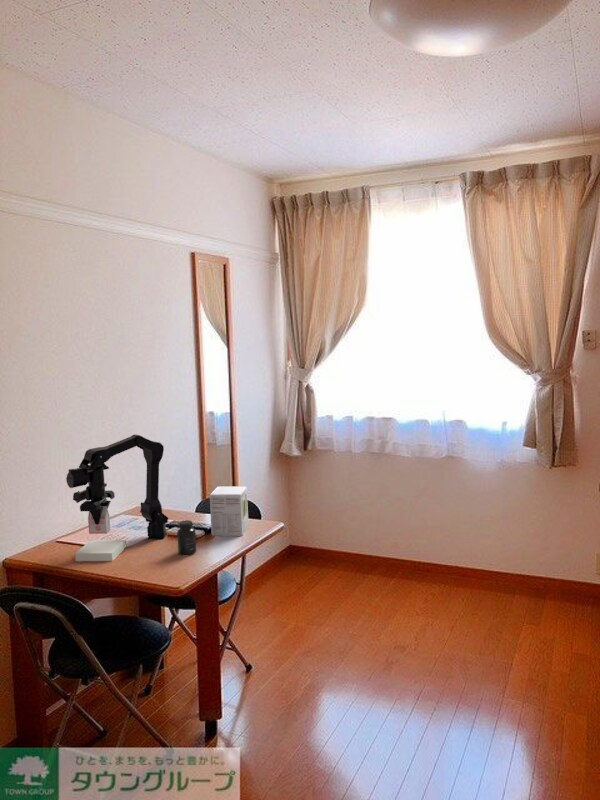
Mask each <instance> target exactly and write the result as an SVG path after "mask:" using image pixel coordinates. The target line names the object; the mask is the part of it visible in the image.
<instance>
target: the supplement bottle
mask: <svg viewBox="0 0 600 800" xmlns="http://www.w3.org/2000/svg"><path fill="white" fill-rule="evenodd" d="M178 524H179V525H178V526H179V529H178V530H177V531H176V536H177V537H176V538H177V553H178V555H180V556H183V555H188V556H192V555H194V554H195V553H196V552H197V539H196V537H197V536H196V530H195V528H194V527H193V525H194V524H193V521H192V520H189V519H188V520H181V521H180V522H178Z"/></svg>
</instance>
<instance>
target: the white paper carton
mask: <svg viewBox="0 0 600 800" xmlns="http://www.w3.org/2000/svg"><path fill="white" fill-rule="evenodd" d="M100 507H103V510H102V514H101V518H100V522H99V524H98V525H96V524H95V521H94V519H93V517H92V515H91V513H90V512H89V511H88V515H87V516H88V517H87V520H88V523H87V524H88V534H90V535H92V534H104V535H105V534H108V533H109V532H110V531H111V520H110V518H111V517H110V513H109V510H108V509H109V508H108V509H107V506H100Z"/></svg>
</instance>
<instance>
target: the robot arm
mask: <svg viewBox="0 0 600 800" xmlns="http://www.w3.org/2000/svg"><path fill="white" fill-rule="evenodd" d="M132 448H139V449H140V450H142V454H143V458H144V460H145V462H146V479H145V480H146V482H145V484H146V486H145V488H146V490H145V492H146V493H145V499H144V501H143V502H140V511H139V513H141V516H142V518H144V520H145V521H146V522H148V523H147V527H146V529H147V531H146V533H147V540H164V539H165V538H166V536H167V535H168V532H167V528H166V524H167V523H168V521H169V517H168V516H167V515H165V514H164V513H163V507H162V503H161V502H160V499H159V487H160V486H159V485H160V484H159V482H160V481H159V480H160V477H159V476H160V463H161V462H162V459H163V456H164V450H165V449H164V445H163V444H162V443H161V442H160V441H159V442H158V441H153V440H151V439H148V438H146V437H144V436H142V435H140V434H133V435H131V436H129V437H125V438H124V439H120V440H118V441H116V442H114V443H110V444H109V445H106V446H100V447H99V446H98V447H94V448H90V449H89V448H88V449H87V450H86V451H85V453H84V457H83V459H82V460H81V462H80V464H79V465H78V467H77V468H69V469H68V470H67V471H68V473H66V477H65V480H66V484H67V486H68V488H70V489H73V488H78V487H83V486H86V488H85V489H84V490H81V491H79V490H78V491H77V492H74V493H72V494H73V495H72V501H75V502H76V504H79V503H80V502H81V504H80V505H79V511H80V512H88V513H89V512H90V513H91V515H92V517H93V519H94V521H95V524H96V525H98V524H99V522H100V518H101V514H102V510H103V507H100V506H107V509H109V507H110V504H111V502H112V501H111V500H113V499H114V498H115V496H116V495H115V492H114V491H113V490H106V487H107V485H108V484H107V483H105V473H104V472H105V471H106V470H109V469H110V467H109V466H107V465H106V462H108V461H109V460H110V459H111V458H113V456H116V455H119V454H121V453H123V452H127V451H128V450H130V449H132ZM104 470H105V471H104ZM87 484H88V485H87ZM107 498H109V499H110V500H108V499H107ZM82 501H84V502H82Z"/></svg>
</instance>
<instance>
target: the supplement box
mask: <svg viewBox="0 0 600 800" xmlns="http://www.w3.org/2000/svg"><path fill="white" fill-rule="evenodd" d="M209 505H210V507H209V508H210V526H211V528H210V530H211V536H212V537H213V536H218V537H219V536H220V537H221V536H224V537H225V536H226V537H227V536H229V537H231V536H233V537H242V536H243V535H244V533H246V531H247V529H248V527H249V509H248V506H249V505H248V487H247V486H246V485H245V486H236V485H235V486H231V485H230V486H227V485H226V486H222V485H221V486H216V488H214V490H213V491H212V492H211V493H210V494H209Z"/></svg>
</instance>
